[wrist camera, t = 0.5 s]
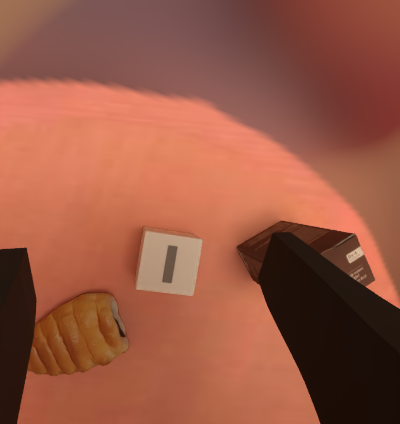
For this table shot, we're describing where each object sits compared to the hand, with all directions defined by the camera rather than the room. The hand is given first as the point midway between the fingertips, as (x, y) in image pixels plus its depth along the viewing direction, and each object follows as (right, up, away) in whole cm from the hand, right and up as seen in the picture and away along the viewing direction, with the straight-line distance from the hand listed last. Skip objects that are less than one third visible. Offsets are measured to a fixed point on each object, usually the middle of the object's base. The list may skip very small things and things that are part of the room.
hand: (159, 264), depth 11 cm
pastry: (-10, -10, +24) cm, 28 cm away
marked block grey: (-2, -3, +24) cm, 25 cm away
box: (+9, -3, +27) cm, 28 cm away
